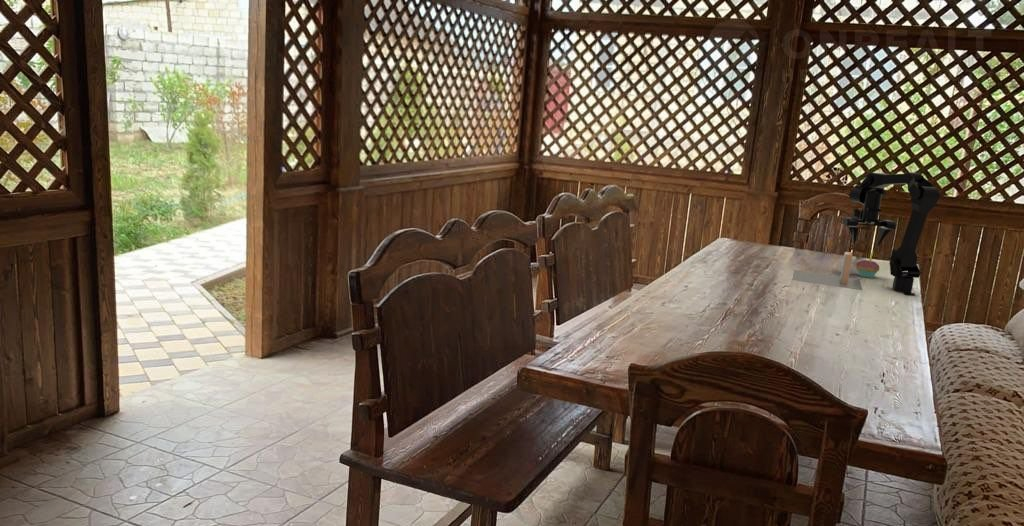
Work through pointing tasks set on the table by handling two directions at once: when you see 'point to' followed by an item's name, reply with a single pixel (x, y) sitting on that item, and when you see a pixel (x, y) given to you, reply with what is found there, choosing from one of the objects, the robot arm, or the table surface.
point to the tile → (846, 267)
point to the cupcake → (867, 267)
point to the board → (825, 279)
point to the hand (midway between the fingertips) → (865, 244)
